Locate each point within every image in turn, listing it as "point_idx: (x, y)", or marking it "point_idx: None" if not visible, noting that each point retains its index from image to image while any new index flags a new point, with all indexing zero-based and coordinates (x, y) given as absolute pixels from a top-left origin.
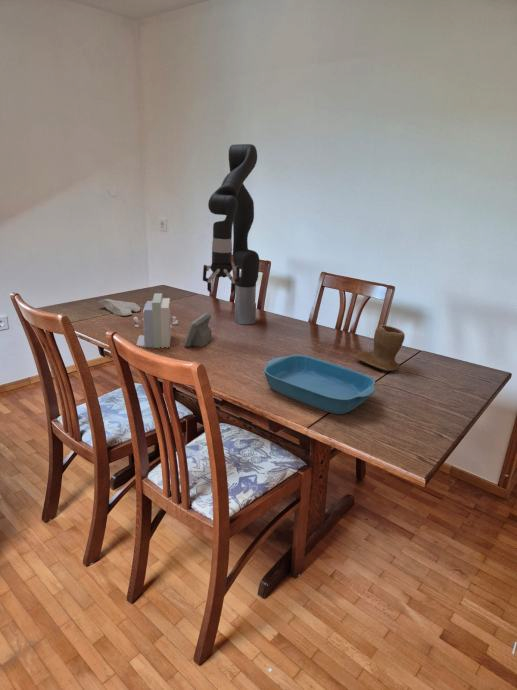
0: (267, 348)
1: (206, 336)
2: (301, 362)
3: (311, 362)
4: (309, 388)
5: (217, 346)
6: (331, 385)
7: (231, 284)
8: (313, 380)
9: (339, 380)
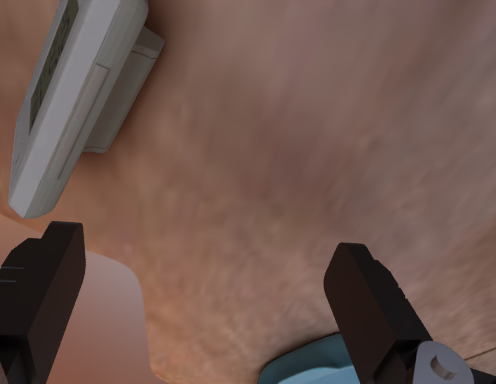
0: (371, 184)
1: (128, 112)
2: None
3: None
4: (331, 378)
5: (184, 136)
6: None
7: (359, 372)
8: None
9: None
